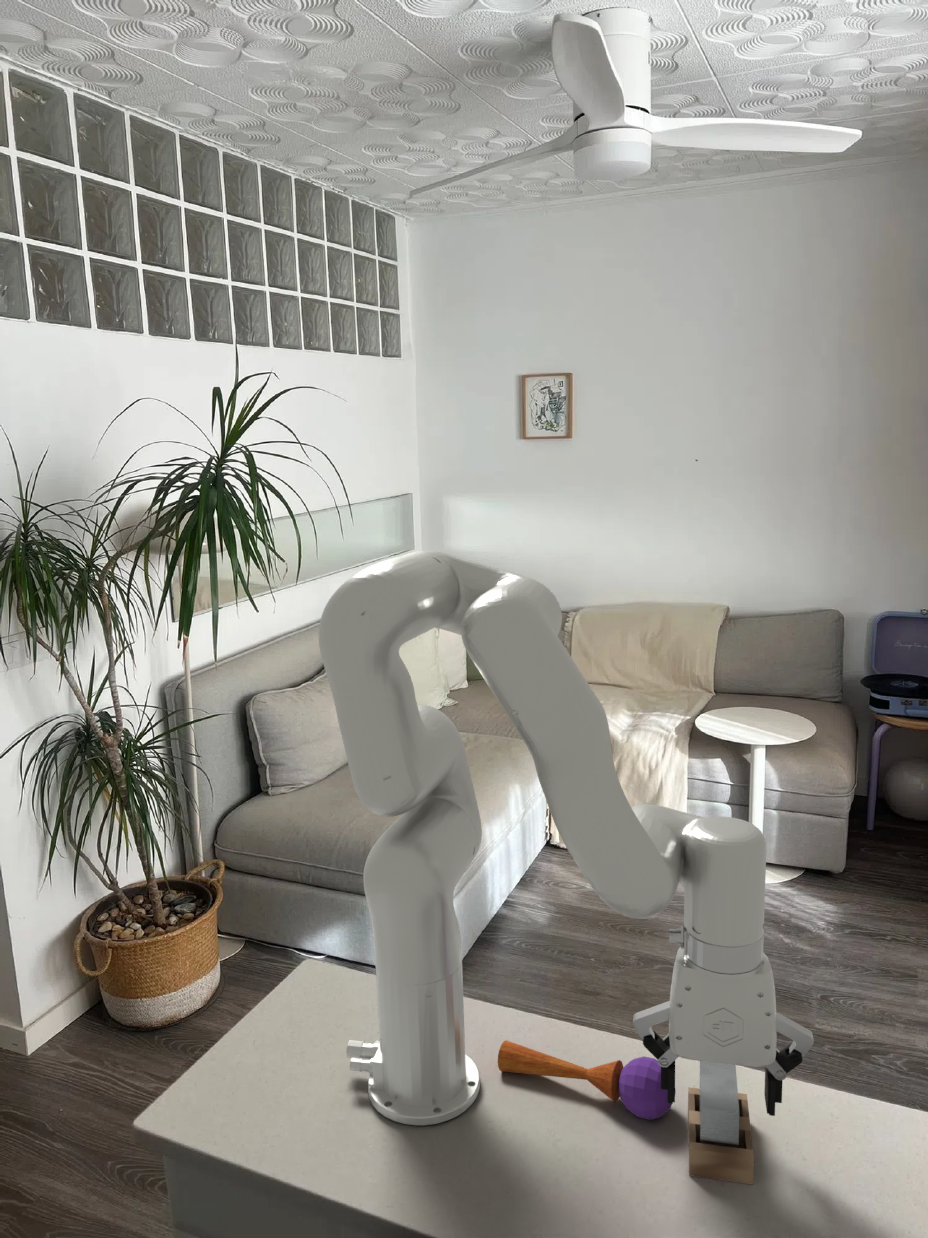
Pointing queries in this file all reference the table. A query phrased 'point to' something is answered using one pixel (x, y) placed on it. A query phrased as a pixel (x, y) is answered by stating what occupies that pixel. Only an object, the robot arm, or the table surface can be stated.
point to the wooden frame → (720, 1147)
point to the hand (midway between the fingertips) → (719, 1100)
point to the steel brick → (718, 1104)
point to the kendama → (597, 1077)
